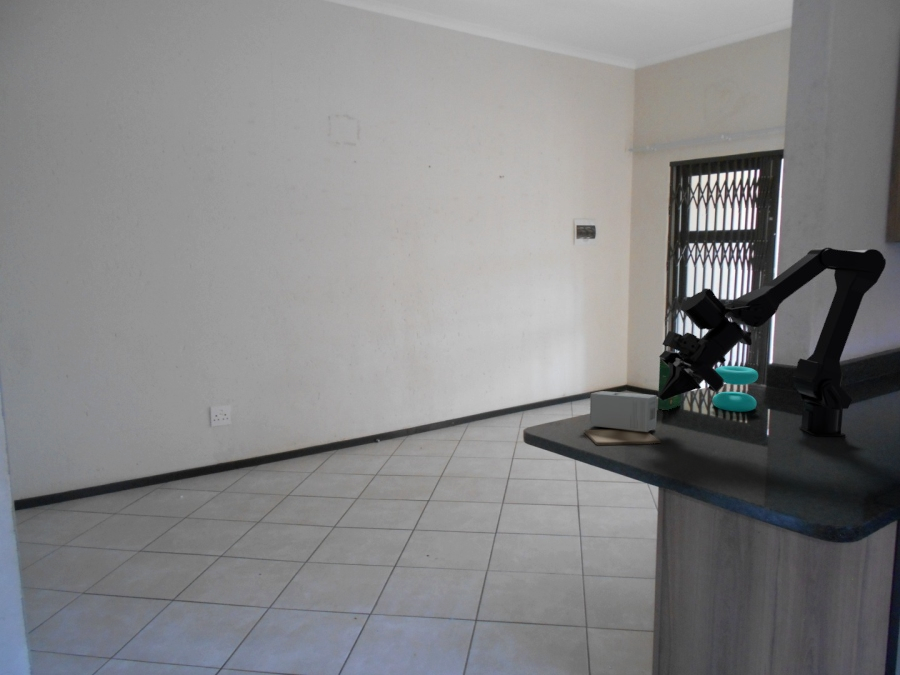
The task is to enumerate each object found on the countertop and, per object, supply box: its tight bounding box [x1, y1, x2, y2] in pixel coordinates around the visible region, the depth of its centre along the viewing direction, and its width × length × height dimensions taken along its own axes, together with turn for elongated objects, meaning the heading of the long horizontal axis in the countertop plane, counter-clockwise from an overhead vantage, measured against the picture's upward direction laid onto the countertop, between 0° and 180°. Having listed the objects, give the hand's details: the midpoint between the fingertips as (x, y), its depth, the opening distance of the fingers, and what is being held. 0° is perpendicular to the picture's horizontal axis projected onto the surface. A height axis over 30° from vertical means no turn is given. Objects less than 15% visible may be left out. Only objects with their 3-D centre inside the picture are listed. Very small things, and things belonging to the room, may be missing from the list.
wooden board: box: [583, 428, 661, 446], centre depth 127 cm, size 13×9×1 cm
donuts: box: [712, 365, 759, 413], centre depth 151 cm, size 10×10×10 cm
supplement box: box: [589, 390, 658, 432], centre depth 133 cm, size 7×7×13 cm
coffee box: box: [657, 358, 682, 411], centre depth 151 cm, size 8×3×13 cm, turn 137°
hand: (660, 398), depth 126 cm, fingers closed
